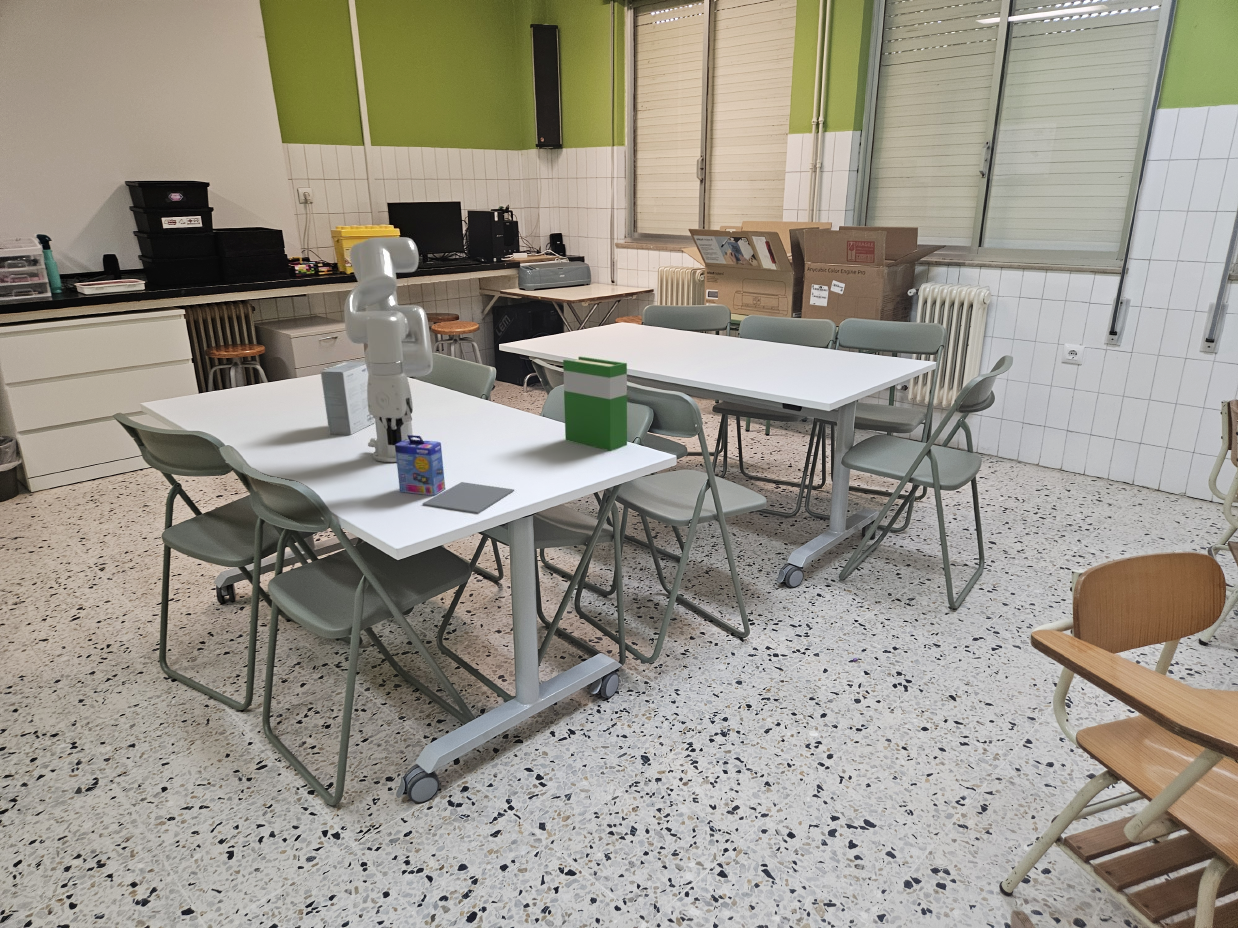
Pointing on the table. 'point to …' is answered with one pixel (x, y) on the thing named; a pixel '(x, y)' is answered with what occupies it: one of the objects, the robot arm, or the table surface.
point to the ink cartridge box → (420, 466)
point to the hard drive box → (346, 398)
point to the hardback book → (595, 402)
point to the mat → (468, 497)
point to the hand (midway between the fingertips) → (394, 443)
